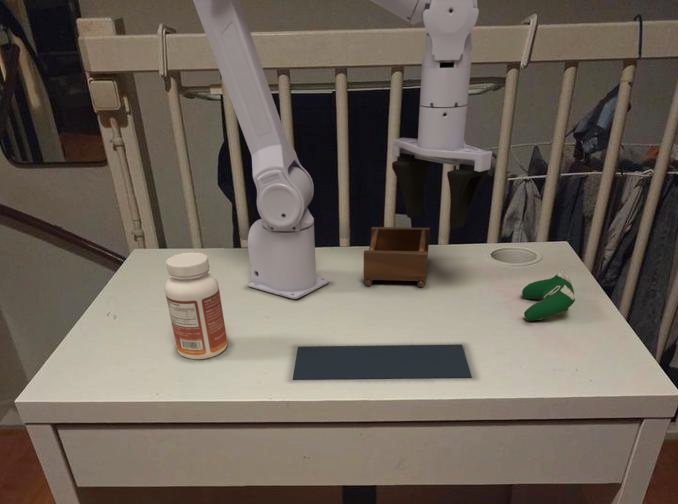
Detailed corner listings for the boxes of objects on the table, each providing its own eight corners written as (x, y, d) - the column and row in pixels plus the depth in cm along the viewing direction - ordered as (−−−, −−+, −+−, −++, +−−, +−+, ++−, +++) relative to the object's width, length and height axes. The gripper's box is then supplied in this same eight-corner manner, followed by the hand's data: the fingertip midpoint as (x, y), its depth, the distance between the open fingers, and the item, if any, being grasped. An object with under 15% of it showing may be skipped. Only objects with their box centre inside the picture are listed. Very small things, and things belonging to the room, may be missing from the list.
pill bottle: (219, 334, 80) (205, 246, 73) (234, 353, 75) (222, 262, 68) (171, 344, 78) (153, 255, 71) (184, 365, 73) (166, 272, 66)
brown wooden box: (371, 259, 100) (371, 226, 97) (427, 260, 99) (429, 227, 96) (363, 286, 91) (363, 252, 88) (425, 288, 90) (427, 253, 86)
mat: (292, 379, 70) (292, 378, 70) (297, 347, 76) (297, 346, 76) (471, 377, 69) (471, 376, 69) (462, 345, 75) (462, 344, 75)
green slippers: (539, 337, 80) (581, 307, 77) (521, 316, 79) (563, 285, 76) (535, 308, 87) (574, 280, 84) (519, 288, 86) (557, 259, 83)
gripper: (513, 105, 73) (497, 225, 81) (420, 96, 81) (414, 205, 90) (475, 113, 69) (463, 238, 78) (382, 102, 78) (380, 216, 86)
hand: (434, 221), depth 84 cm, fingers open, 7 cm apart
